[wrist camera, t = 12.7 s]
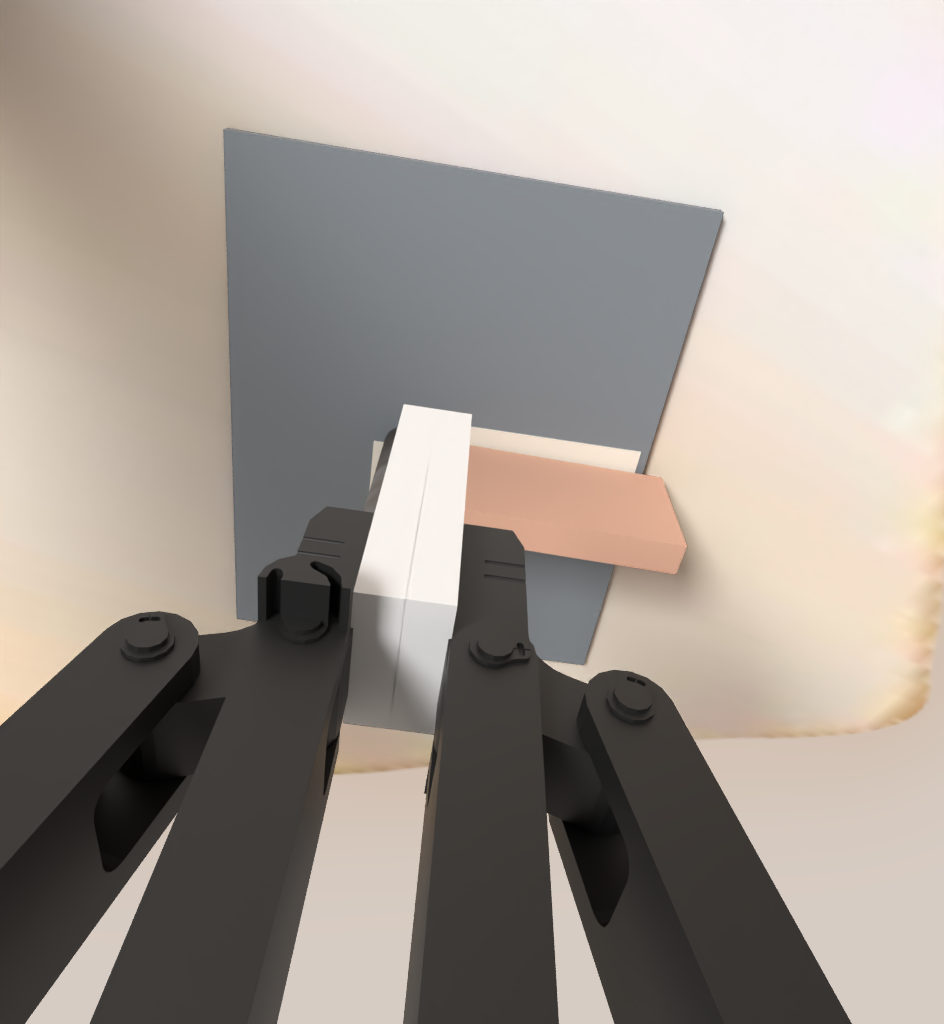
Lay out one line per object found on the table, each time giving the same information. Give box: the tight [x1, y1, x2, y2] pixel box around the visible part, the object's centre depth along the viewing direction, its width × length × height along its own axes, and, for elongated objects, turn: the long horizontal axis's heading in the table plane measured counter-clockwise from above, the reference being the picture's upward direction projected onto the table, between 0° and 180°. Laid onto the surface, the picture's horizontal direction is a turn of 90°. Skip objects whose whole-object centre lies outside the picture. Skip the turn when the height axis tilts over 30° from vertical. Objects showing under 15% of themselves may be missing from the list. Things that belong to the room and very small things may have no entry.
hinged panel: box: [464, 445, 687, 574], centre depth 40 cm, size 2×13×7 cm, turn 80°
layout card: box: [223, 128, 724, 665], centre depth 43 cm, size 24×32×4 cm
